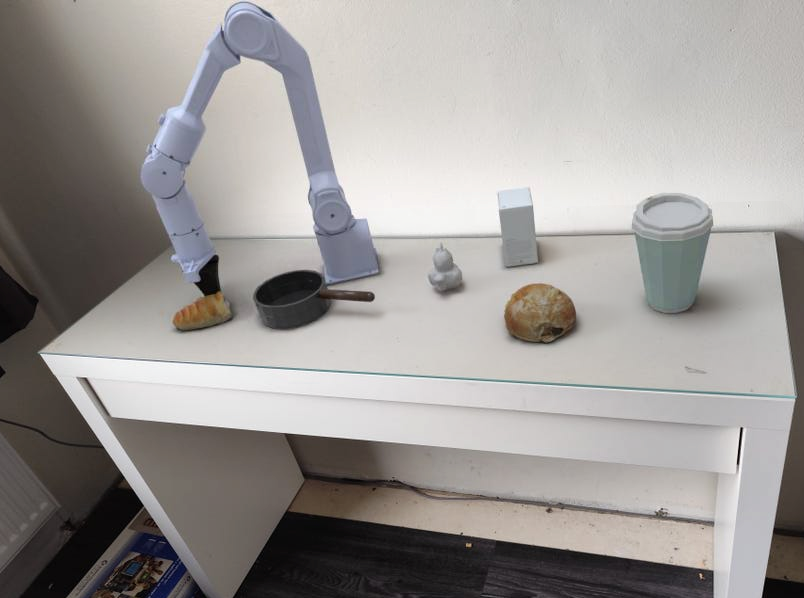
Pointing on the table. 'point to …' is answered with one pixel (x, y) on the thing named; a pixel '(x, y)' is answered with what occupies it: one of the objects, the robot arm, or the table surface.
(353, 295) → the pan handle
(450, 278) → the grey figurine
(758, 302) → the table surface
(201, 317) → the pastry
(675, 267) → the disposable coffee cup
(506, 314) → the bread roll
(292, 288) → the pan
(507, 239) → the small box
